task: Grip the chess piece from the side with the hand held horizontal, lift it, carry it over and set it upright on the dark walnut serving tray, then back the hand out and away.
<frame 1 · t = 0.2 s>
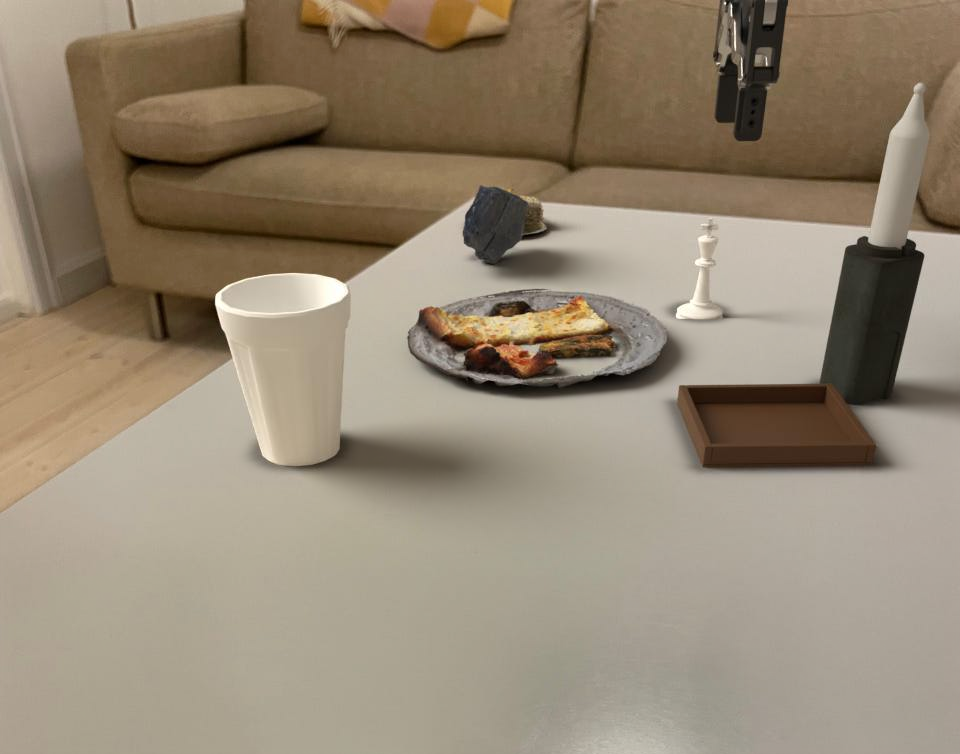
hand: (736, 130, 89), 20 cm above the table, tool pointing down, fingers open, 8 cm apart
food plate: (534, 355, 102), on the table
candle: (852, 399, 93), on the table
serving tray: (767, 439, 86), on the table
cup: (302, 457, 84), on the table
stone: (497, 265, 127), on the table
chess piece: (699, 319, 110), on the table
cake: (509, 231, 139), on the table
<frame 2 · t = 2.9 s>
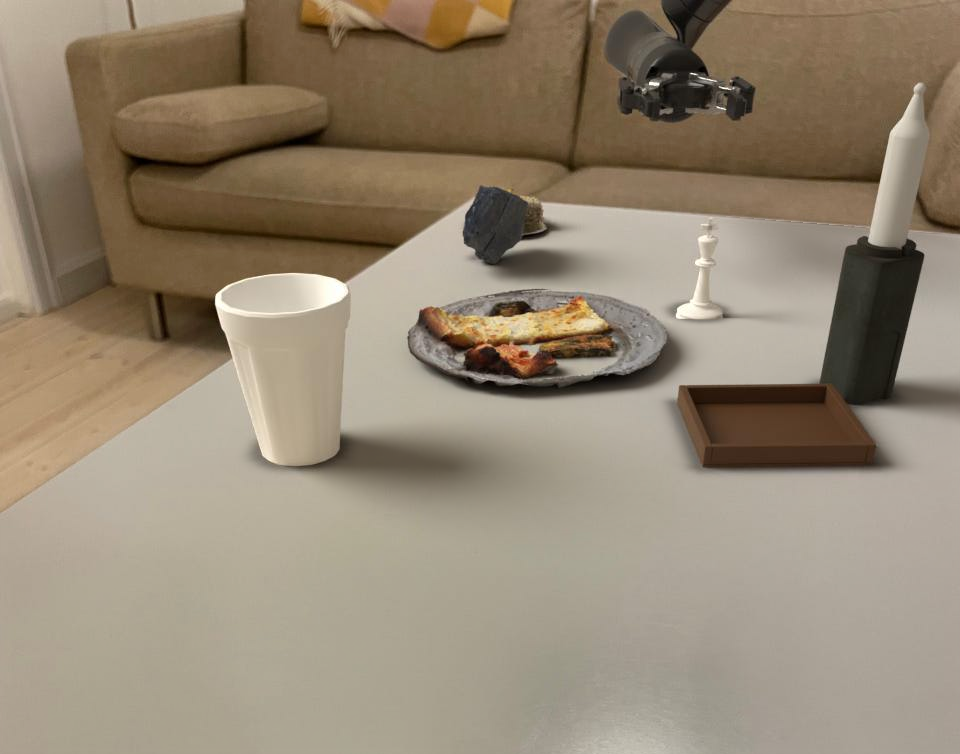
hand: (697, 110, 108), 18 cm above the table, tool horizontal, fingers open, 8 cm apart
nothing on the table moved.
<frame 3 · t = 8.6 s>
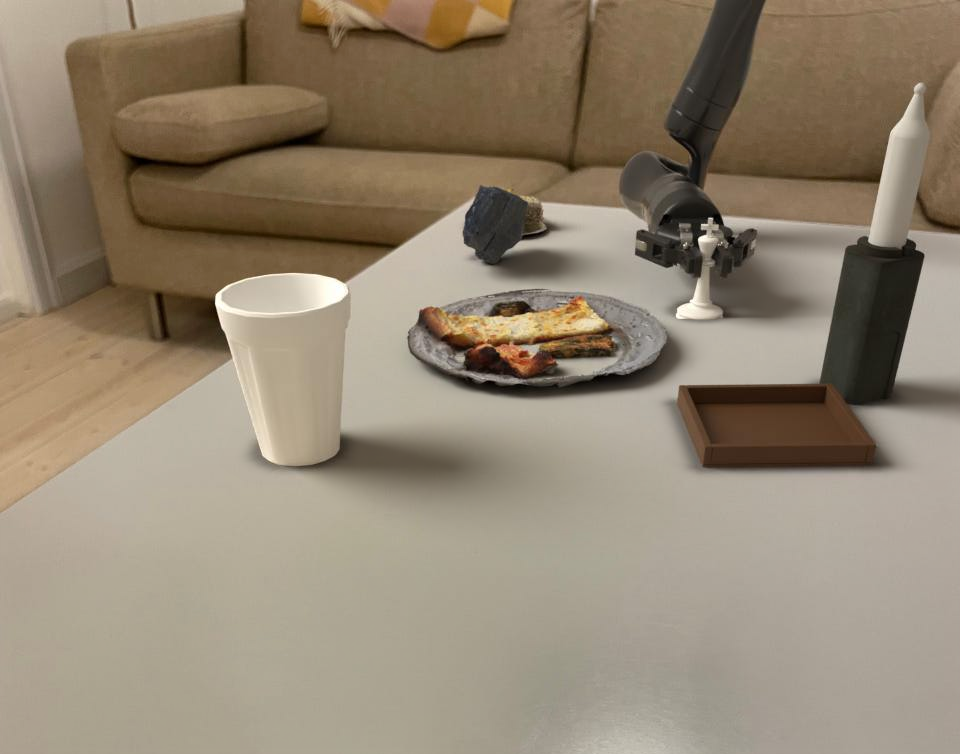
hand: (711, 267, 104), 6 cm above the table, tool horizontal, fingers closed on chess piece
chess piece: (699, 318, 110), on the table, touching gripper
everything else where it was.
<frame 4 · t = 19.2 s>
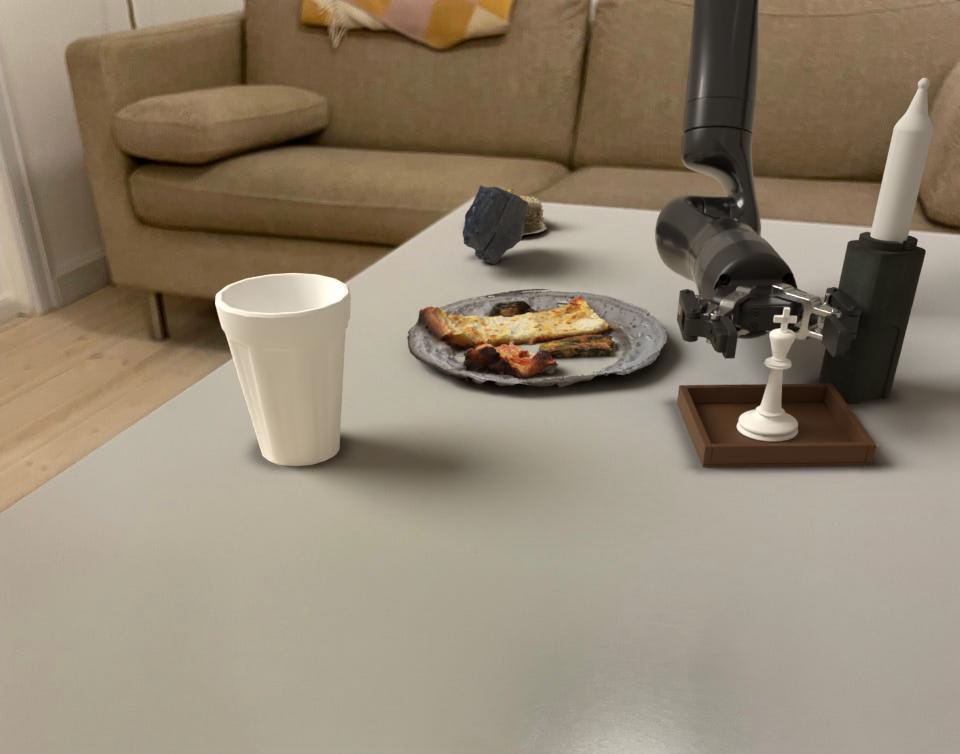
hand: (787, 345, 81), 8 cm above the table, tool horizontal, fingers open, 8 cm apart
candle: (851, 396, 93), on the table, touching hand
chess piece: (766, 431, 86), point 1 cm above the table, touching serving tray
everything else where it was.
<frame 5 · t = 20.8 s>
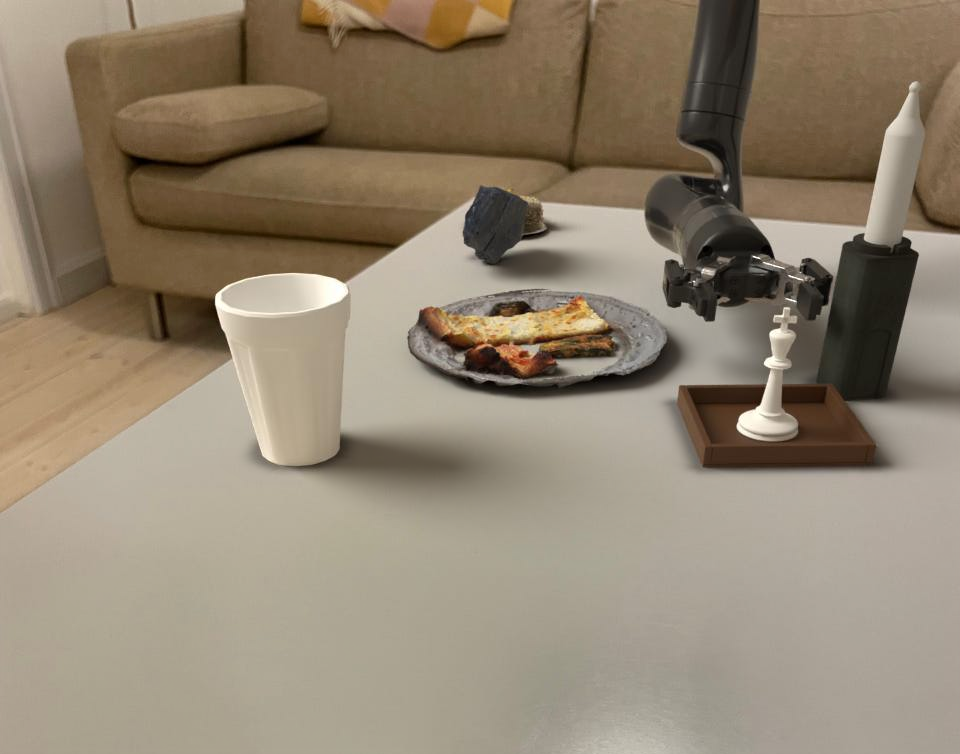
hand: (763, 309, 87), 8 cm above the table, tool horizontal, fingers open, 8 cm apart
candle: (848, 396, 94), on the table
everything else where it was.
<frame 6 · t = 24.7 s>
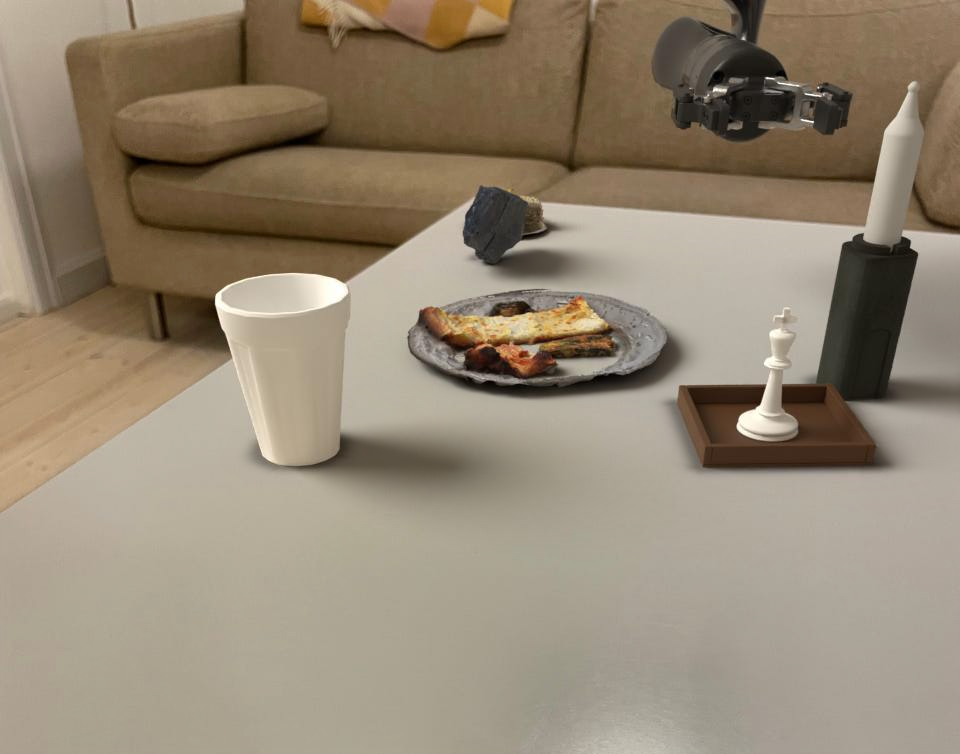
hand: (778, 121, 82), 22 cm above the table, tool horizontal, fingers open, 8 cm apart
nothing on the table moved.
at the end: chess piece inside the target area in the serving tray (0.3 cm from its centre), point 0.6 cm above the serving tray's base; chess piece tilted 0°; the gripper is holding nothing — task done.
